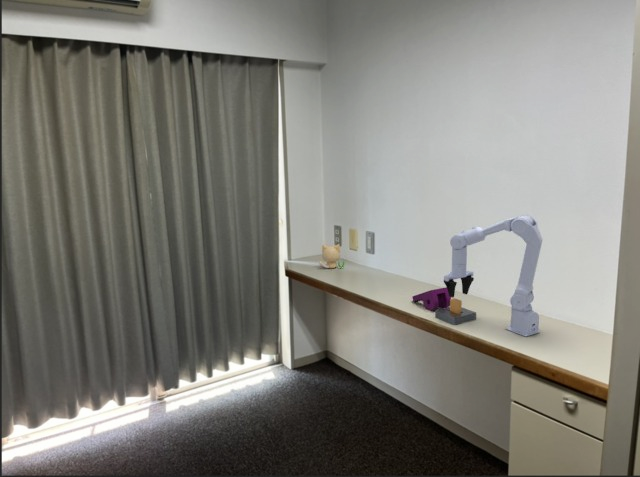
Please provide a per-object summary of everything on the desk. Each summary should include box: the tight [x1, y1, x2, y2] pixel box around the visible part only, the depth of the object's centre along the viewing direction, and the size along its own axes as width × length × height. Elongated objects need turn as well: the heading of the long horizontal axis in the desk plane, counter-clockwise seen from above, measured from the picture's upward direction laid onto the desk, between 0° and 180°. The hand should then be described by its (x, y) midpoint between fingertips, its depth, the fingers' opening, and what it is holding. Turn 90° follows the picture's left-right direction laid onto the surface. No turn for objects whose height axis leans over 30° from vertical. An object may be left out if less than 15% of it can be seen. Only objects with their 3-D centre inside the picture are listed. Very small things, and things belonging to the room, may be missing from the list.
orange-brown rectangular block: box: [449, 297, 463, 314], centre depth 194 cm, size 4×2×8 cm, turn 29°
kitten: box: [318, 243, 345, 269], centre depth 285 cm, size 15×10×15 cm
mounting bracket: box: [412, 286, 452, 312], centre depth 211 cm, size 9×8×18 cm
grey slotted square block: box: [434, 306, 477, 326], centre depth 194 cm, size 11×12×3 cm
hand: (458, 295), depth 193 cm, fingers open, 7 cm apart
